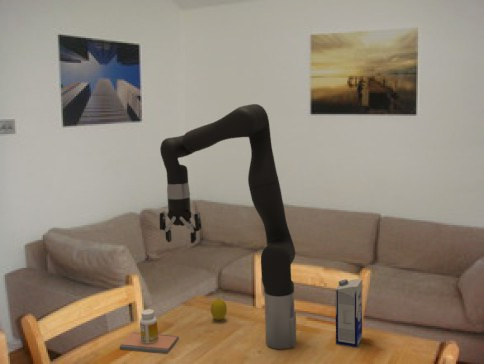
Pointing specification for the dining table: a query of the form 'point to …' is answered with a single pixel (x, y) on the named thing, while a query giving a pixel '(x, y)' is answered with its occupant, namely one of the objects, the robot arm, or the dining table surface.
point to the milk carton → (349, 312)
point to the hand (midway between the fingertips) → (181, 242)
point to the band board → (159, 346)
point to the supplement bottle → (148, 327)
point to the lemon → (218, 309)
